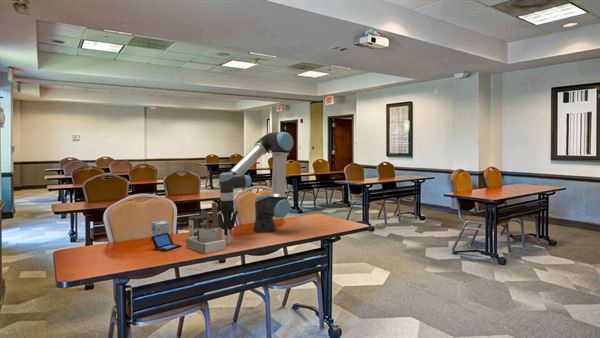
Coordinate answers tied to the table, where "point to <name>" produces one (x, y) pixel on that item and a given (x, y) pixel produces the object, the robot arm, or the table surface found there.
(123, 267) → the table surface
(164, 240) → the handheld game console
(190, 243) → the mortise bay
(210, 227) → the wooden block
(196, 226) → the grey-green tall box
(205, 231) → the gray rectangular block
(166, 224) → the light bulb box
